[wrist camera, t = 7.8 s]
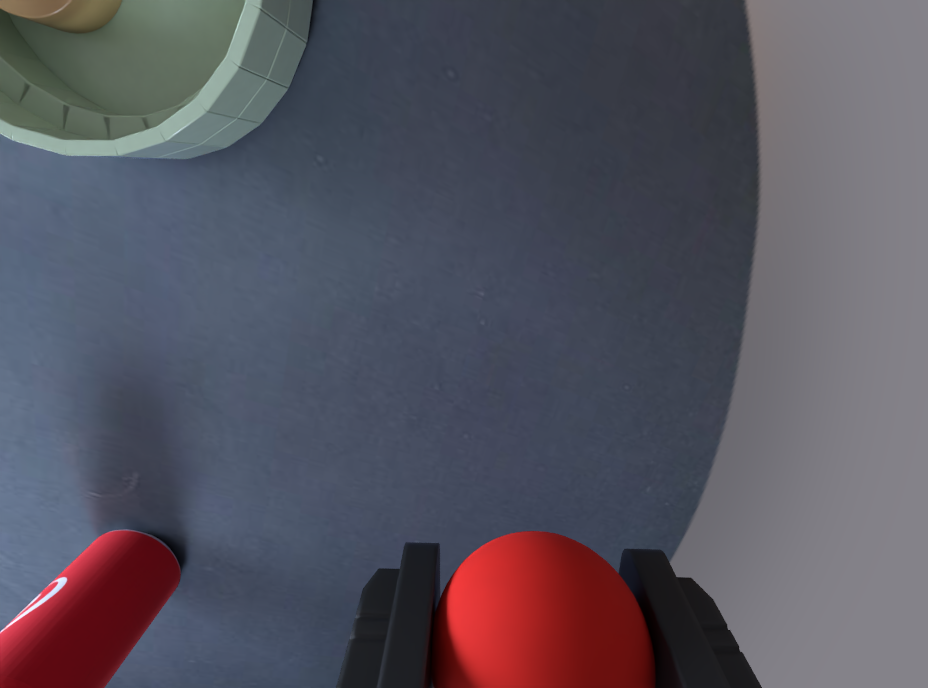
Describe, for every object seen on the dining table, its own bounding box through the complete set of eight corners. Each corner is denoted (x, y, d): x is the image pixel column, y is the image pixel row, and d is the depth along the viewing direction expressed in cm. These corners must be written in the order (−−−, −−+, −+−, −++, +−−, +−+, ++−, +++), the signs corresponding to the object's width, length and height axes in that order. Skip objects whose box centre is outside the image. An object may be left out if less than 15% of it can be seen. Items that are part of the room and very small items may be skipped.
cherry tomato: (463, 469, 10) (455, 654, 6) (645, 513, 10) (747, 715, 6) (420, 609, 11) (393, 831, 7) (582, 644, 11) (635, 875, 8)
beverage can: (79, 540, 33) (-130, 732, 22) (148, 509, 32) (-33, 695, 20) (137, 602, 35) (-28, 809, 23) (205, 575, 34) (66, 779, 22)
